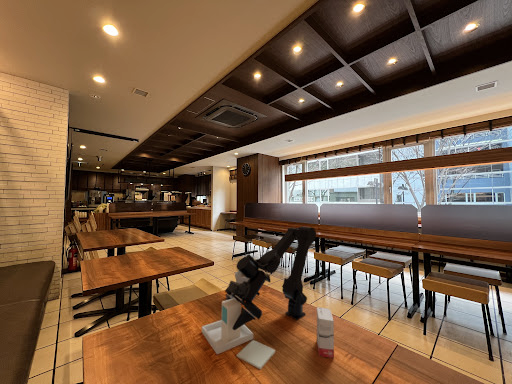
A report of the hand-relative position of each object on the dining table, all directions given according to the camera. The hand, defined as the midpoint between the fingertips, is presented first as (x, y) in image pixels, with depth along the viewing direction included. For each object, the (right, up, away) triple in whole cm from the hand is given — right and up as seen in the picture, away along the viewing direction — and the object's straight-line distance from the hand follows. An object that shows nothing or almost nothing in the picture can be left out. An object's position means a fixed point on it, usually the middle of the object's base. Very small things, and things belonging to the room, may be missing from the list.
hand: (227, 323), depth 75 cm
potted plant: (+6, -8, +37) cm, 38 cm away
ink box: (+34, -7, -3) cm, 34 cm away
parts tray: (-1, -7, +3) cm, 7 cm away
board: (+10, -6, -6) cm, 14 cm away
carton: (+1, -6, +1) cm, 6 cm away
